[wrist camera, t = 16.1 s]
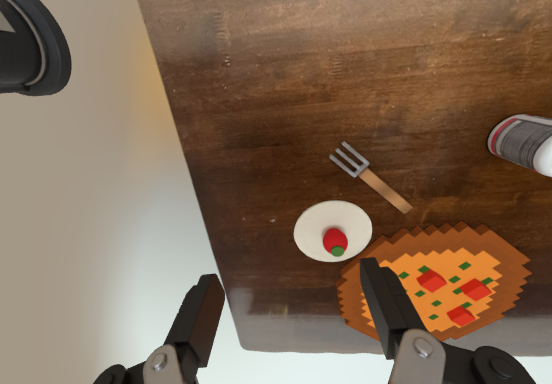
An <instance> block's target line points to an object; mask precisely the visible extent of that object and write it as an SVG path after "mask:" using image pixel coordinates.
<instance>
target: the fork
mask: <svg viewBox="0 0 552 384" xmlns="http://www.w3.org/2000/svg"><path fill="white" fill-rule="evenodd" d="M341 144H342V145H343V146H344V147H345V148H347V149H348V150H349V151H350V152H351V153H352V154H354V155H355V156H356V157H357V158H358V159H359V160H361V161H362V162H363V163H362V164H361V165H360V166H359V165H358V164H357V163H355V162H354V161H353V160H352V159H351V158H349V157H348V156H347V155H346V154H345V153H344V152H342V151H341V150H340V149H339V148H336V149H335V151H336V152H337V153H338V154H339V155H341V156H342V157H343V158H344V159H345V160H347V161H348V162H349V163H350V164H351V165H353V166H354V167H355V168H356V170H355V171H354V172H353V171H352V170H350V169H349V168H348V167H347V166H345V165H344V164H343V163H342V162H341V161H339V160H338V159H337V158H336V157H335V156H333V155H332V154H331V155H330V156H329V158H330V159H332V160H333V161H334V162H335V163H336V164H338V165H339V166H340V167H341V168H343V169H344V170H345V171H346V172H347V173H349V174H350V175H351V176H352V177H354V178H355V177H356V176H357V175H358V176H359V177H360V178H361V179H362V180H364V181H365V182H366V183H367V184H368V185H370V186H371V187H372V188H373V189H374V190H376V191H377V192H378V193H379V194H381V195H382V196H383V197H384V198H385V199H387V200H388V201H389V202H390V203H391V204H393V205H394V206H395V207H396V208H398V209H399V210H400V211H401V212H402V213H404V214H405V213H407V212H408V211H410V210H411V209H412V208H413V206H412V205H411V204H410V203H409V202H408V201H406V200H405V199H404V198H403V197H402V196H400V195H399V194H398V193H397V192H396V191H395V190H393V189H392V188H391V187H390V186H389V185H388V184H386V183H385V182H384V181H383V180H382V179H381V178H379V177H378V176H377V175H376V174H375V173H373V172H372V171H371V170H370V169H369V168H368V167H367V166H368V165H369V164H370V163H369V162H368V161H367V160H366V159H365V158H363V157H362V156H361V155H360V154H359V153H358V152H356V151H355V150H354V149H353V148H352V147H351V146H349V145H348V144H347V143H346V142H345V141H343V142H342V143H341Z"/></svg>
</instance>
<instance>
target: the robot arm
mask: <svg viewBox="0 0 552 384" xmlns="http://www.w3.org/2000/svg"><path fill="white" fill-rule="evenodd" d="M48 68H49V56H48V50H47V47H46V44H45V41H44V39H43V36H42V34H41V32H40V31H39V29H38V27H37V26H36V24H35V23H34V21H33V20H32V18H31V17H30V16H29V15H28V13H27V12H26V11H25V10H24V9H23V8H22V7H21V6H20V5H19V4H18V3H17V2H15V1H14V0H0V93H13V92H27V91H30V86H31V85H34V84H37V83H39V82H41V81H42V80H43V79H44V78H45V76H46V74H47V72H48ZM360 282H361V287H362V290H363V293H364V296H365V299H366V302H367V305H368V307H369V310H370V313H371V316H372V319H373V322H374V325H375V328H376V331H377V333H378V336H379V339H380V342H381V345H382V348H383V351H384V354H385V357H386V359H387V360H391V359H394V365H393V369H392V372H391V375H390V378H389V381H388V384H536V383H535V381H534V380H533V379H532V377H531V376H530V375H529V373H528V372H527V371H526V369H525V368H524V367H523V366H522V365H521V364H520V363H519V362H518V361H517V360H516V359H515V358H514V357H512V356H511V355H510V354H508V353H506V352H505V351H502V350H500V349H498V348H495V347H491V346H482V347H479V348H477V349H476V350H475V352H474V351H470V350H467V349H463V348H459V347H455V346H451V345H448V344H446V343H444V342H442V341H440V340H439V339H437V338H436V337H434V336H433V335H432V334H431V333H430V332H429V331H428V330H427V328H426V327H425V325H424V323H423V322H422V320H421V318H420V316H419V314H418V312H417V311H416V309H415V307H414V305H413V303H412V301H411V299H410V298H409V296H408V294H407V293H406V290H405V288H404V287H403V286H402V283H401V281H400V279H399V277H398V276H397V274H396V273H395V272H394V271H393V270H391V269H390V268H389V267H388V266H387V267H380V266H379V264H378V262H377V260H376V258H375V257H368V258H360ZM224 301H225V292H224V289H223V287H222V285H221V283H220V281H219V279H218V277H217V275H216V274H207V275H202V276H201V277H200V279H199V282H198V284H197V285H194V286H193V287H192V288H191V289H190V290H189V291H188V293H187V294H186V296H185V298H184V300H183V302H182V305H181V307H180V309H179V313H177V316H176V318H175V320H174V322H173V325H172V327H171V329H170V331H169V333H168V336H167V338H166V340H165V342H164V344H163V346H161V347H159V348H157V349H156V350H155V351H154V352H153V353H152V354H151V355H150V356H149V357H148V359H147V360H146V361H144V362H142V363H140V364H137V365H135V366H133V367H131V368H128V369H126V368H125V367H124V366H122V365H120V364H117V365H113V366H111V367H109V368H108V369H106V370H105V371H104V372H103V373H101V374H100V375H99V377H98V378H97V379H96V380H95V382H94V383H93V384H199V383H198V380H197V377H196V374H197V370H198V368H203V367H207V364H208V360H209V356H210V353H211V349H212V346H213V342H214V338H215V335H216V331H217V327H218V324H219V320H220V316H221V312H222V309H223V305H224Z"/></svg>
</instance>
